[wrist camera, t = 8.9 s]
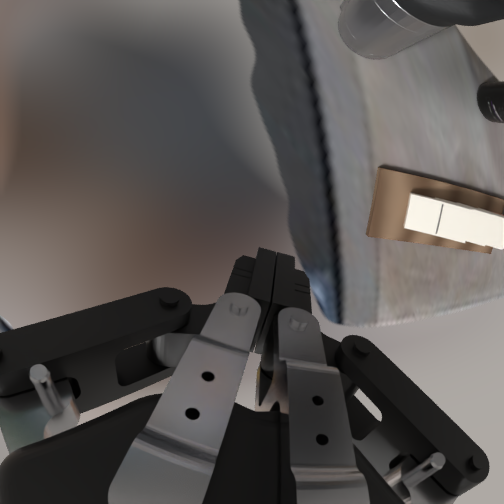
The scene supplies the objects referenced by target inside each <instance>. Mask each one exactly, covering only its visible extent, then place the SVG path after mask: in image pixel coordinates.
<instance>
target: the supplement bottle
mask: <svg viewBox="0 0 504 504" xmlns="http://www.w3.org/2000/svg"><path fill="white" fill-rule="evenodd" d="M477 101H478V106H479V109H480V111H481V113H482V114H483V115H484V117H485V118H486V119H488V120H489V121H491V122H497V123H504V82H488V83H484V84H482V85H481V86H480V87H479V89H478V93H477Z"/></svg>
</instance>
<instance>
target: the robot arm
mask: <svg viewBox="0 0 504 504" xmlns="http://www.w3.org/2000/svg"><path fill="white" fill-rule="evenodd" d="M340 8H341V11H342V13H341V15H340V17H339V21H338V28H339V32H340V35H341V37H342V39H343V41H344V42H345V43H346V44H347V46H348V47H349V48H350V49H352V50H353V51H354V52H356V53H357V54H359V55H361V56H363V57H366V58H369V59H384V58H387V57H389V56H392V55H394V54H396V53H397V52H399V51H401V50H403V49H405V48H407V47H409V46H411V45H413V44H415V43H417V42H419V41H421V40H423V39H425V38H427V37H429V36H431V35H433V34H435V33H437V32H439V31H442V30H444V29H446V28H448V27H450V26H453V25H455V24H458V25H464V26H476V25H481V24H485V23H489V22H493V21H497V20H501V19H504V0H344V1H343V3H342V4H341V6H340ZM143 342H144V343H143ZM140 343H141V344H140ZM138 344H139V345H138ZM135 345H136V346H135ZM255 345H256V347H255ZM132 346H133V347H132ZM254 347H255V353H258V354H262V355H261V361H260V364H259V366H258V369H257V375H256V395H255V411H253V410H250V409H248V408H246V407H244V406H242V405H240V404H237V403H235V399H236V396H237V392H238V389H239V386H240V383H241V379H242V376H243V373H244V370H245V366H246V363H247V360H248V356H249V352H253V350H254ZM127 348H128V349H127ZM124 349H125V350H124ZM170 376H172V377H171V379H170V381H169V383H168V385H167V387H166V389H165V390H164V392H163V394H154V395H149V396H146V397H142V398H139V399H137V400H134V401H132V402H130V403H128V404H126V405H124V406H122V407H119V408H118V409H115V410H113V411H111V412H108V413H106V414H104V415H102V416H100V417H97V418H95V419H93V420H90V421H88V422H86V423H83V424H81V425H78V426H76V425H77V424H78V422H79V419H80V414H81V413H83V412H86V411H89V410H91V409H94V408H96V407H99V406H101V405H104V404H106V403H109V402H112V401H114V400H117V399H119V398H121V397H123V396H126V395H128V394H131V393H133V392H136V391H138V390H140V389H143V388H145V387H147V386H150V385H152V384H154V383H156V382H159V381H161V380H163V379H165V378H167V377H170ZM359 388H360V389H361V391H362V392H363V393H364V394H365V395H366V396H367V397H368V398H369V399H370V400H371V401H372V402H373V403H374V404H375V405H376V406H377V407H378V409H379V410H380V411H381V413H382V421H381V422H380V421H378V420H377V419H376V418H375V417H374V416H373V415H372V414H371V413H370V412H369V411H368V410H367V408H366V407H365V406H364V405H363V404H362V403H361V402H360V401H359V400H358V399H357V398H356V397H355V396H354V394H355V393H356V391H357V390H358V389H359ZM0 427H1V431H2V434H3V437H4V440H5V443H6V446H7V449H8V451H9V455H8V456H7V457H6V458H5V459H4V461H3V462H2V463H1V465H0V504H453V503H454V501H455V500H456V498H457V497H458V496H460V495H461V494H463V493H465V492H467V491H468V490H470V489H471V488H473V487H475V486H476V485H478V484H479V483H481V482H482V481H484V479H486V477H487V476H488V473H489V461H488V458H487V456H486V454H485V453H484V451H483V450H482V449H481V448H480V447H479V446H478V445H477V444H476V443H475V442H474V441H473V440H472V439H471V438H470V437H469V436H468V435H467V434H466V433H465V432H464V431H463V430H462V429H461V428H460V427H459V426H458V425H457V424H456V423H455V422H453V420H451V418H450V417H449V416H448V415H447V414H445V413H444V412H443V411H442V410H441V409H440V408H439V407H438V406H437V405H436V404H435V403H434V402H433V401H432V400H431V399H430V398H429V397H428V396H427V395H426V394H425V393H424V392H423V391H422V390H421V389H420V388H419V387H418V386H417V385H416V384H415V383H414V382H413V381H412V380H411V379H410V378H408V377H407V376H406V375H405V374H404V373H403V372H402V371H401V370H400V369H399V368H398V367H397V366H396V365H395V364H394V363H393V362H392V361H391V360H390V359H389V358H388V357H387V356H386V355H385V354H383V353H382V352H381V351H380V350H379V349H378V348H377V347H376V346H375V345H374V344H373V343H371V341H369V340H368V339H366V338H363V337H361V336H357V335H349V336H346V337H345V338H344V339H343V340H342V342H339V341H337V340H334V339H332V338H330V337H328V336H326V335H325V334H323V333H322V332H321V331H320V326H319V322H318V320H317V319H316V318H315V317H314V316H313V315H312V309H311V296H310V282H309V278H308V277H307V275H306V274H305V272H304V271H300V270H296V269H295V257H293V256H290V255H286V254H282V253H279V252H277V254H276V252H274V251H271V250H267V249H264V248H260V247H259V249H258V252H257V256H256V259H255V258H252V257H248V256H244V255H243V256H242V257H240V258H239V259H237V260H236V262H235V265H234V268H233V270H232V273H231V276H230V279H229V281H228V284H227V287H226V290H225V293H224V295H222V296H220V297H219V299H218V301H217V302H216V303H213V304H209V305H195V304H192V302H191V299H190V297H189V296H188V295H187V294H186V293H184V292H183V291H181V290H178V289H175V288H168V287H164V288H158V289H154V290H151V291H148V292H144V293H140V294H137V295H134V296H130V297H126V298H123V299H120V300H116V301H113V302H109V303H106V304H102V305H99V306H95V307H92V308H88V309H85V310H81V311H78V312H74V313H71V314H67V315H64V316H60V317H57V318H53V319H49V320H46V321H42V322H38V323H35V324H31V325H28V326H24V327H21V328H17V329H13V330H10V331H6V332H2V333H0Z"/></svg>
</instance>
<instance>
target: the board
mask: <svg viewBox="0 0 504 504" xmlns="http://www.w3.org/2000/svg"><path fill="white" fill-rule="evenodd" d="M410 192H411V193H415V194H419V195H423V196H427V197H431V198H435V197H436V198H440V199H444V200H447V201H451V202H455V203H457V202H458V203H461V204H465V205H468V206H471V207H474V208H481V209H484V210H487V211H490V212H495V213H498V214H502V211H503V207H504V200H503V199H500V198H497V197H494V196H491V195H488V194H484V193H481V192H478V191H474V190H471V189H467V188H464V187H460V186H457V185H453V184H449V183H445V182H442V181H438V180H434V179H429V178H425V177H421V176H417V175H412V174H408V173H403V172H399V171H394V170H389V169H384V168H379V167H378V170H377V177H376V183H375V189H374V194H373V200H372V206H371V211H370V216H369V221H368V226H367V231H366V235H367V236H368V237H375V238H383V239H390V240H398V241H406V242H413V243H420V244H428V245H435V246H442V247H449V248H456V249H462V250H469V251H475V252H482V253H488V254H491V252H492V248H493V247H491V246H488V245H485V246H482V245H478V244H475V243H471V242H467V241H465V243H462V242H458V241H454V240H450V239H447V238H443V237H439V236H435V235H431V234H427V233H423V232H419V231H415V230H410V229H406V228H404V221H405V216H406V211H407V206H408V201H409V195H410Z"/></svg>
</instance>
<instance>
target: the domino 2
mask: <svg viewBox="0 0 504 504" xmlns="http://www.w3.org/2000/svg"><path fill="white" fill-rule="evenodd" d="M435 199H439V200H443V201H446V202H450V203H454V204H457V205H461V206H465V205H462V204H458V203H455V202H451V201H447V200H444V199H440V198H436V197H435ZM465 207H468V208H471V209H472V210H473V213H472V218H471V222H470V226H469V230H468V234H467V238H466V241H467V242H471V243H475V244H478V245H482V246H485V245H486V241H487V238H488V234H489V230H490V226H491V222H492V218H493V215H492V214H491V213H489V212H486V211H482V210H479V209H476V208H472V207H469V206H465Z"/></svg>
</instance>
